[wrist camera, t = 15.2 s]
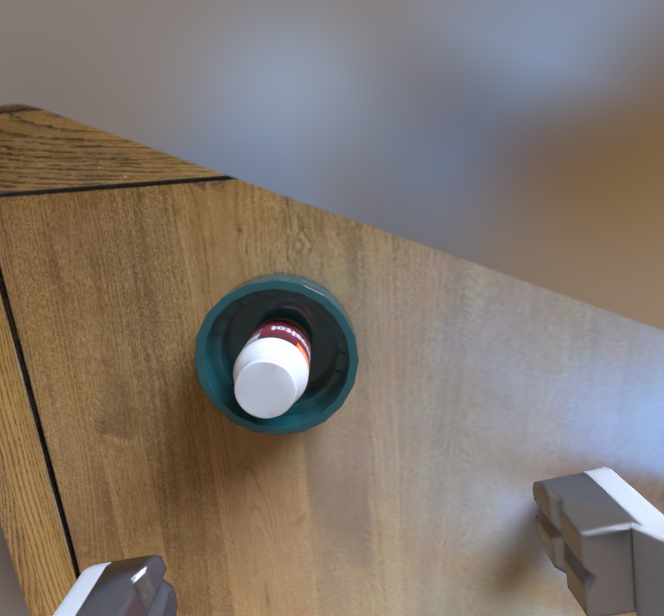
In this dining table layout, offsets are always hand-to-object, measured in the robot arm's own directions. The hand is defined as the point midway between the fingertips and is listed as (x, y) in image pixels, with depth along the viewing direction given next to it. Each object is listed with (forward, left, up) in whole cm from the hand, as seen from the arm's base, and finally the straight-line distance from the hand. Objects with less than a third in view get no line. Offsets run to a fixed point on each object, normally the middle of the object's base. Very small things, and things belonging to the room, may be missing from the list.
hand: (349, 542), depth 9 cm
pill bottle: (+5, -6, -33) cm, 34 cm away
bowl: (+5, -6, -33) cm, 34 cm away
